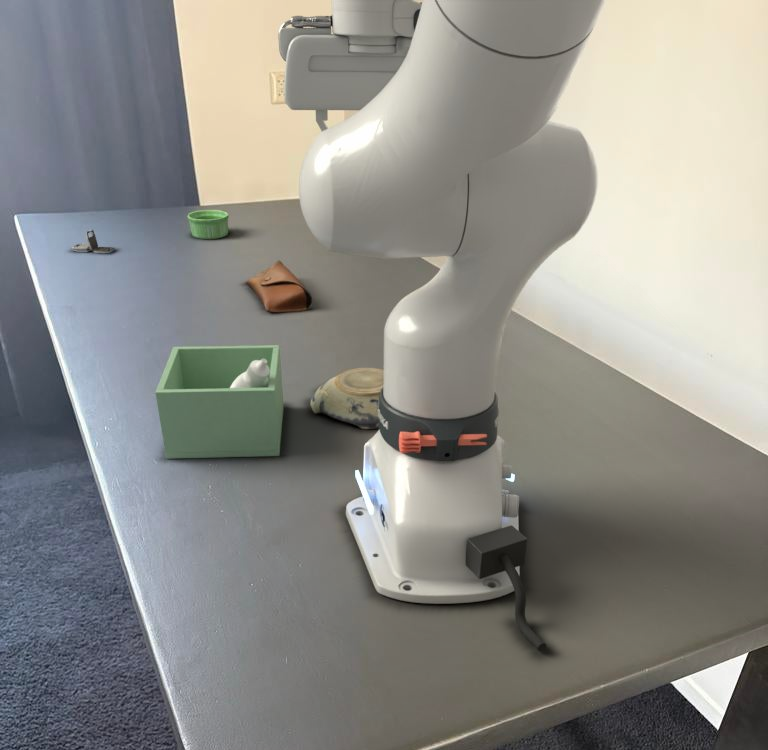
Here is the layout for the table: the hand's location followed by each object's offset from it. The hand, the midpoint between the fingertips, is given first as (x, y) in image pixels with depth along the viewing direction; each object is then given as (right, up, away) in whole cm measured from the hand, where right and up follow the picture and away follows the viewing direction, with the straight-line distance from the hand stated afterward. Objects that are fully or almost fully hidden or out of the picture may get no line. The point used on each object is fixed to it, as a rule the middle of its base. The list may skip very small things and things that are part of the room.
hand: (371, 151), depth 96 cm
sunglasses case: (-18, -4, +50) cm, 53 cm away
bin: (-18, -33, +6) cm, 38 cm away
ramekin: (-38, +19, +83) cm, 93 cm away
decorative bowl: (-1, -29, +13) cm, 32 cm away
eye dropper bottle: (-18, -32, +5) cm, 37 cm away
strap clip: (-60, +12, +72) cm, 94 cm away
